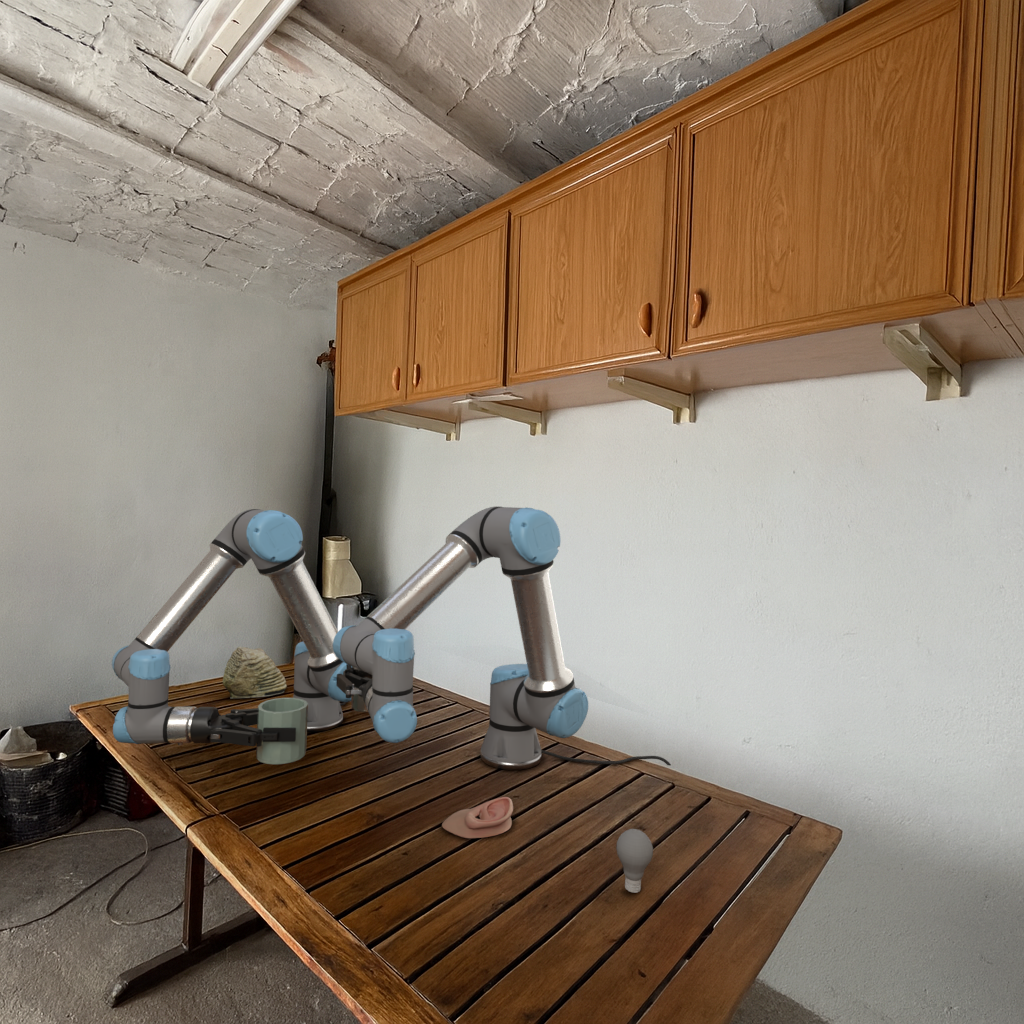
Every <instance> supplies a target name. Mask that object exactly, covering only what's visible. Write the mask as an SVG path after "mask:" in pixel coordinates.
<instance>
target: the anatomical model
mask: <svg viewBox="0 0 1024 1024" xmlns="http://www.w3.org/2000/svg"><path fill="white" fill-rule="evenodd" d="M513 812H514V803H513V800H512V799H511V798H510V797H508V796H501V797H497V798H493V799H491V800H487V801H485V802H483V803H481V804H479V805H477V806H474V807H472V808H464V809H461V810H458V811H456V812H454V813H452V814H451V815H449V816H448V817H447V818H445V819H444V820H443V822H442V824H441V827H442V828H443V829H444V830H445V831H447V832H448V833H451V834H453V835H455V836H458V837H460V838H465V839H480V838H481V839H482V838H488V837H495V836H498V835H501V834H503V833H505V832H507V831H509V830H510V829H511V828H512V825H513V821H512V818H511V816H512V814H513Z"/></svg>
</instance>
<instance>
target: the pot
mask: <svg viewBox="0 0 1024 1024" xmlns="http://www.w3.org/2000/svg"><path fill="white" fill-rule="evenodd" d="M257 708H258V717H257V725H256V728H257V729H261V730H262V732H263V729H264V728H296V740H295V742H263V741H262V746H259V747H257V746H255V748H256V749H255V755H256V756H255V757H256V760H257V761H258V762H260V763H263V764H267V765H284V764H285V765H286V764H290V763H294V762H296V761H299V760H301V759H302V758H304V757H305V755H306V754H307V740H308V732H307V719H308V703H307V701H305V700H302V699H298V698H293V697H277V698H272V699H267V700H264V701H263V702H261V703H259V704H258V705H257Z"/></svg>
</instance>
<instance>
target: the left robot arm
mask: <svg viewBox="0 0 1024 1024" xmlns="http://www.w3.org/2000/svg"><path fill="white" fill-rule="evenodd" d="M303 540H304V536H303V531H302V528H301V526H300V524H299V522H297V520H296V519H295V518H294V517H292V516H291V515H289V514H287V513H285V512H282V511H280V510H273V509H268V510H264V509H260V508H250V509H246V510H244V511H241V512H239V513H238V514H236V515H235V516H234V517H232V519H231V520H229V522H228V523H227V524H226V525H225V526H224V527H223V528H222V529H221V530H220V532H219V533H218V534H217V535H216V537H214V539H213V540H212V541H211V542H210V544H209V551H208V552H207V553H206V555H205V556H204V557H203V559H202V560H201V561H200V562H199V563H198V564H197V565H196V566H195V568H194V569H193V570H192V571H191V573H189V575H187V577H186V578H185V579H184V581H183V582H182V583H181V584H180V585H179V587H177V589H175V591H174V592H173V593H172V595H171V596H170V597H169V598H168V599H167V600H166V602H165V603H164V604H163V605H162V607H160V609H159V610H158V611H157V612H156V613H155V615H154V616H153V617H152V618H151V619H150V621H149V622H148V623H147V624H146V625H145V627H143V629H142V630H141V631H140V632H139V633H138V635H137V636H136V637H134V639H133V640H132V641H131V642H130V644H129V645H125V646H123V647H121V648H119V649H117V651H116V652H115V653H114V655H113V656H112V659H111V669H112V670H113V672H114V673H115V676H116V677H117V678H118V679H119V680H120V681H122V682H123V683H124V684H125V685H126V686H127V687H128V701H127V706H123V707H122V708H120V709H118V711H117V712H116V715H115V716H114V723H113V725H112V734H113V738H114V739H115V740H116V741H117V742H118V743H122V744H135V745H143V744H177V745H178V746H183V745H184V744H191V743H193V744H195V745H196V744H198V745H199V744H204V745H205V744H208V745H209V744H211V743H212V744H217V743H223V744H230V745H239V746H246V747H256V746H257V747H259V746H262V741H263V742H295V740H296V728H264V729H263V732H262V730H261V729H257V727H253V726H257V717H258V707H255V708H242V709H241V708H239V709H237V708H232V709H230V711H229V712H230V713H229V712H228V713H225V714H220V713H219V709H218V708H217V707H216V706H200V707H197V706H169V692H170V691H169V689H170V674H171V673H170V672H171V661H170V653H169V651H170V650H171V648H173V646H174V644H175V643H176V642H177V641H178V640H179V639H180V637H181V636H183V634H184V633H185V631H186V630H187V629H188V628H189V627H190V625H191V624H192V623H193V622H194V621H195V620H196V618H197V617H198V616H199V615H200V613H201V612H202V611H203V610H204V608H205V607H206V606H207V605H208V603H210V601H211V600H212V599H213V598H214V596H216V594H217V593H218V591H220V590H221V588H222V587H223V586H224V584H226V582H227V581H228V579H229V578H230V577H231V576H232V575H233V574H234V573H235V571H236V570H237V569H243V568H244V567H245V565H247V563H248V562H249V561H250V560H251V561H252V563H253V565H254V566H255V569H256V570H257V572H258V573H259V575H261V576H263V577H268V578H269V580H270V582H271V584H272V585H273V587H274V589H275V591H276V594H277V596H278V597H279V599H280V601H281V603H282V605H283V606H284V608H285V610H286V612H287V614H288V616H289V617H290V619H291V622H292V623H293V625H294V628H295V629H296V630H297V632H298V634H299V636H300V638H301V640H302V641H300V642H297V644H296V645H295V650H294V655H293V656H294V672H293V695H292V696H293V697H292V698H298V699H302V700H305V701H307V703H308V719H307V733H316V732H325V731H329V730H332V729H335V728H337V727H339V726H340V725H342V723H343V722H344V714H343V709H342V706H345V705H346V704H347V703H350V702H351V698H346V694H345V693H344V692H343V691H342V690H340V689H339V688H338V687H337V674H343V671H345V669H347V664H346V663H344V662H343V661H341V660H340V659H339V658H337V657H336V655H335V653H334V651H333V640H334V637H335V635H336V634H337V632H338V631H339V630H338V629H337V627H336V625H335V622H334V621H333V619H332V616H331V614H330V613H329V611H328V609H327V606H326V604H325V603H324V601H323V599H322V597H321V595H320V593H319V591H318V589H317V587H316V585H315V583H314V581H313V579H312V577H311V575H310V573H309V571H308V568H307V567H306V565H305V563H304V559H305V555H306V551H305V549H304V547H303V545H302V542H303ZM351 667H352V666H351Z"/></svg>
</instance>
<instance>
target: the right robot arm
mask: <svg viewBox="0 0 1024 1024" xmlns="http://www.w3.org/2000/svg"><path fill="white" fill-rule="evenodd" d="M560 547H561V531H560V529H559V526H558V524H557V522H556V520H555V519H554V518H553V516H552V515H550V514H549V513H547V512H546V511H544V510H541V509H535V508H532V507H526V506H525V507H513V506H512V507H511V506H510V507H509V506H489V507H486V508H484V509H481V510H479V511H477V512H476V513H473V515H471V516H470V517H468V518H467V519H465V520H464V521H462V523H460V524H459V525H457V527H455V528H454V529H453V530H452V531H451V532H450V533H449V534H447V536H446V537H445V544H443V545H442V547H440V548H439V549H438V550H437V551H436V552H435V553H434V554H433V555H431V557H429V558H428V559H427V561H425V562H424V563H423V564H422V565H421V566H420V567H419V568H417V570H416V571H414V573H412V574H411V575H410V576H409V577H408V578H407V579H406V580H405V581H404V582H403V583H402V584H400V585H399V586H398V587H397V588H396V589H395V590H394V591H393V592H392V593H391V594H390V595H388V596H387V597H386V599H384V600H383V601H382V602H381V603H380V604H379V605H377V607H376V608H374V609H373V610H372V611H371V612H370V613H369V614H368V615H367V616H366V617H365V618H364V619H363V620H361V621H360V622H359V623H358V624H357V625H346V626H344V627H341V629H339V630H337V631H338V632H337V634H336V635H335V637H334V640H333V651H334V653H335V655H336V657H337V658H339V659H340V660H341V661H343V662H344V663H346V664H347V669H345V671H343V674H337V687H338V688H339V689H340V690H342V691H343V692H344V693H345V694H346V698H351V697H352V696H354V694H359V696H361V697H363V701H364V703H365V705H366V708H367V710H368V712H367V713H368V715H369V716H370V719H371V722H372V725H373V729H374V731H375V732H376V733H377V734H378V735H379V737H380V738H381V739H382V740H383V741H385V742H387V743H391V744H398V743H402V742H405V741H406V740H408V739H409V738H410V737H411V736H412V735H413V733H414V732H415V731H416V728H417V725H418V717H417V711H416V709H415V708H414V669H415V668H414V667H415V655H416V651H415V639H414V635H413V633H412V632H411V631H410V630H407V629H408V627H410V625H411V624H413V623H414V621H416V620H417V619H418V618H419V617H420V616H421V615H422V614H423V613H424V612H425V611H426V610H427V609H428V608H430V606H431V605H432V604H434V602H435V601H436V600H437V599H438V598H439V597H441V595H442V594H443V593H444V592H446V591H447V589H449V587H451V585H453V584H454V583H455V582H456V581H457V580H458V579H459V578H460V577H461V576H462V575H463V574H464V573H465V572H466V571H467V570H468V569H475V568H477V567H478V565H479V564H480V563H481V562H483V561H485V560H487V559H491V558H497V559H499V562H500V568H501V572H502V574H503V576H505V577H507V578H509V579H510V583H511V589H512V594H513V598H514V599H513V600H514V604H515V609H516V610H515V611H516V614H517V619H518V626H519V630H520V635H521V640H522V646H523V651H524V657H525V661H526V663H511V664H504V665H503V664H502V665H499V666H497V667H495V668H494V669H493V670H492V672H491V676H490V683H489V686H490V687H489V722H488V728H487V731H486V733H485V734H484V737H483V741H482V744H481V747H480V759H481V761H482V762H483V763H484V764H486V765H488V766H490V767H491V768H496V769H501V770H506V771H508V770H509V771H521V770H527V769H531V768H534V767H536V766H538V765H539V764H540V763H541V762H542V755H543V754H544V755H547V756H550V757H553V758H556V759H559V760H564V761H569V762H576V763H586V764H593V765H594V764H595V765H596V764H597V765H620V764H625V763H628V762H631V761H635V760H658V761H662V762H663V763H664V764H666V765H667V766H672V764H671V763H670V762H669V761H668V760H667V759H665V757H662V756H659V755H638V756H637V755H636V756H630V757H627V758H624V759H620V760H594V759H583V758H574V757H569V756H563V755H560V754H556V753H554V752H551V751H547V750H543V749H542V747H541V744H540V739H539V736H538V733H537V730H539V731H540V732H543V733H545V734H548V735H549V736H551V737H557V738H560V739H568V738H570V737H572V736H574V735H575V734H576V733H577V732H578V731H579V730H580V729H581V727H582V726H583V725H584V723H585V720H586V719H587V715H588V712H589V698H588V695H587V693H586V692H585V691H584V690H583V689H581V688H580V687H578V688H577V686H576V684H575V678H574V673H573V672H572V670H571V669H570V668H568V667H567V666H566V665H565V658H564V652H563V648H562V647H563V646H562V642H561V635H560V629H559V625H558V617H557V613H556V607H555V601H554V597H553V595H554V594H553V590H552V584H551V579H550V571H551V569H552V568H553V566H555V565H554V564H555V563H554V559H556V557H557V555H558V554H559V552H560V551H559V548H560ZM351 666H353V667H356V668H358V669H361V670H362V671H364V672H366V673H369V674H371V675H373V678H372V679H370V678H367V677H365V678H362V677H359V676H357V675H355V674H353V669H352V667H351Z"/></svg>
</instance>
